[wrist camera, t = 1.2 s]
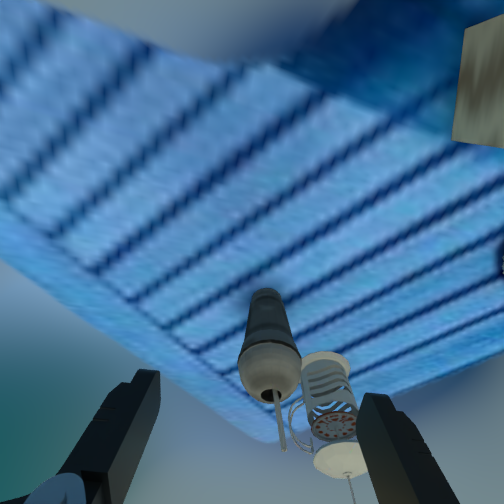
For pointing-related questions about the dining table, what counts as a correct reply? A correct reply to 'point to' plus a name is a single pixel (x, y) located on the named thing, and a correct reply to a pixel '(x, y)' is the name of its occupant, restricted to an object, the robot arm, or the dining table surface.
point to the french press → (330, 415)
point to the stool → (481, 86)
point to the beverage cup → (269, 354)
